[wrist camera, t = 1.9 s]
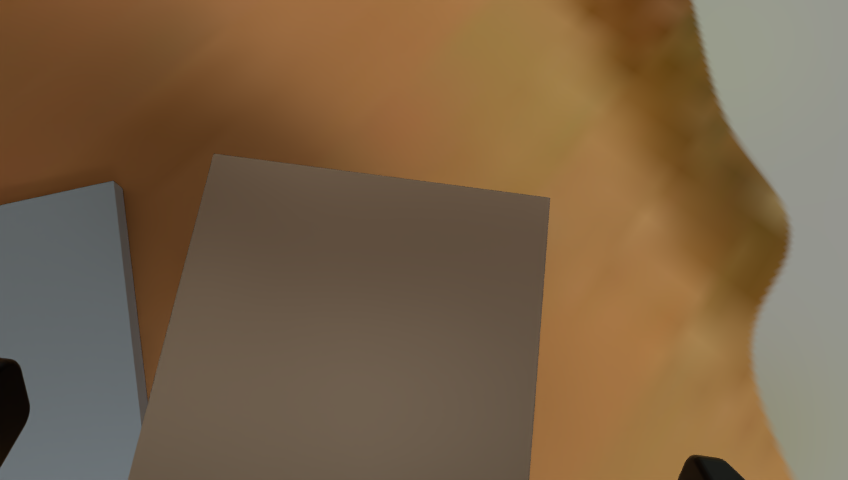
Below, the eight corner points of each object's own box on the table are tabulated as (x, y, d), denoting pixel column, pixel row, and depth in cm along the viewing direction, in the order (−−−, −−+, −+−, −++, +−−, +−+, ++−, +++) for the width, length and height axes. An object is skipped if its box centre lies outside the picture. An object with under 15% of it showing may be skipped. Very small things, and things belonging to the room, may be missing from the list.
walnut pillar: (456, 498, 16) (521, 576, 7) (286, 474, 16) (117, 518, 7) (474, 329, 18) (550, 197, 8) (318, 307, 18) (213, 153, 8)
